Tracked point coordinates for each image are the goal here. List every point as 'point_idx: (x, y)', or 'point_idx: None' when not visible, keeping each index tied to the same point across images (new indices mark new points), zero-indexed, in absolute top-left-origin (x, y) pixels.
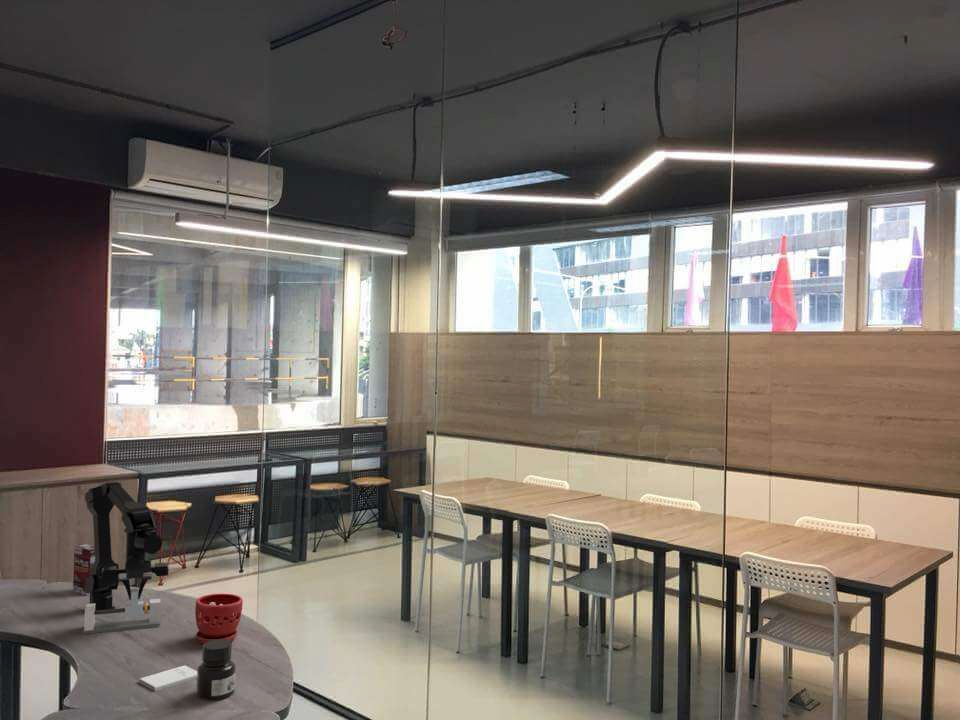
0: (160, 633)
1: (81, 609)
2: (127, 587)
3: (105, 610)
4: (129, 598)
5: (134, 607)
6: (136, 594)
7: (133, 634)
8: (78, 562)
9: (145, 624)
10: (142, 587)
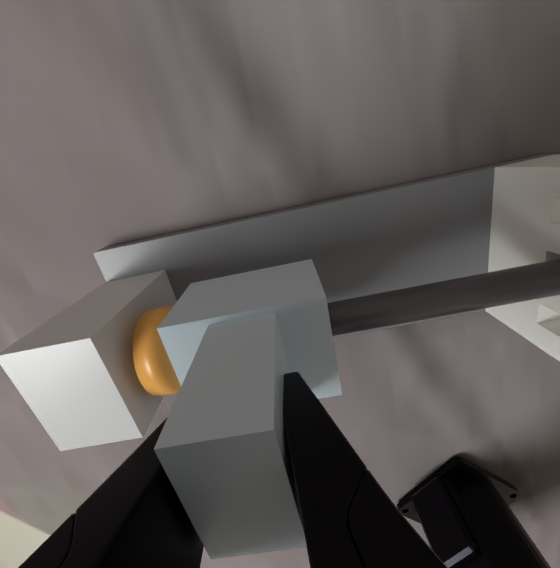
0: (39, 105)
1: (528, 503)
2: (369, 536)
3: (490, 289)
4: (300, 379)
5: (240, 303)
6: (197, 403)
7: (218, 107)
8: None
9: (178, 241)
10: (58, 547)
